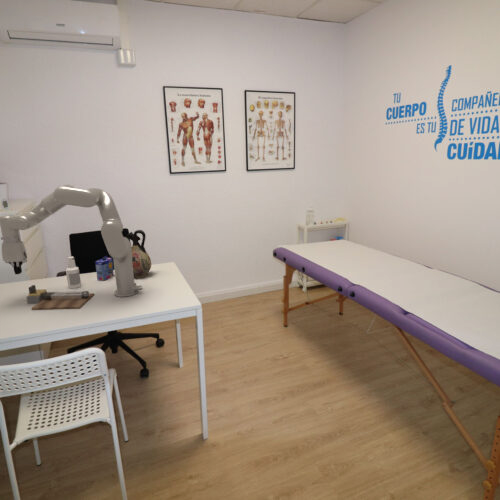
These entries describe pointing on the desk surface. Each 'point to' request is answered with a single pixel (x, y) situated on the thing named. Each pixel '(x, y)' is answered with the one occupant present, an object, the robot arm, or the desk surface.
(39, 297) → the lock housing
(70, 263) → the spray bottle
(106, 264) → the ink cartridge box
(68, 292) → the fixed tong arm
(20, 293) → the desk surface
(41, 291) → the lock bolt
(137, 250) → the ceramic jug
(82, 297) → the tong arm
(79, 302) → the tong board
